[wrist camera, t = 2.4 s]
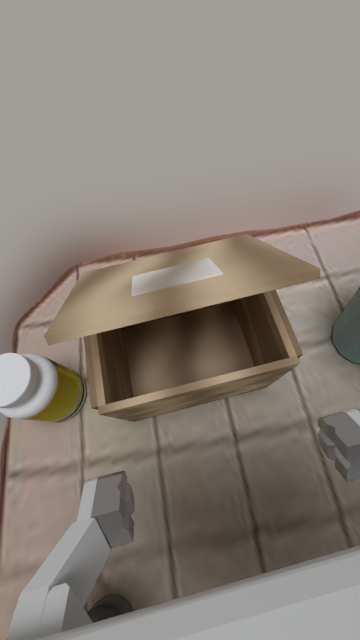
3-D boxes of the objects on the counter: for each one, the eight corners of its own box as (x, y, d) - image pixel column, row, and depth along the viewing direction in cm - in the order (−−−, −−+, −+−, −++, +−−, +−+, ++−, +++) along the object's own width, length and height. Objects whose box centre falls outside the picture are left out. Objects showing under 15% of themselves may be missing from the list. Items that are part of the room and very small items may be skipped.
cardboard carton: (238, 298, 37) (254, 241, 26) (270, 386, 33) (306, 361, 22) (114, 328, 37) (78, 283, 26) (129, 422, 32) (92, 416, 21)
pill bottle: (90, 369, 35) (45, 343, 25) (84, 422, 33) (32, 416, 22) (42, 371, 35) (-22, 345, 25) (33, 422, 33) (-42, 417, 23)
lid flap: (246, 240, 26) (246, 232, 26) (319, 278, 16) (320, 266, 15) (84, 279, 26) (82, 272, 25) (48, 345, 15) (43, 334, 15)
